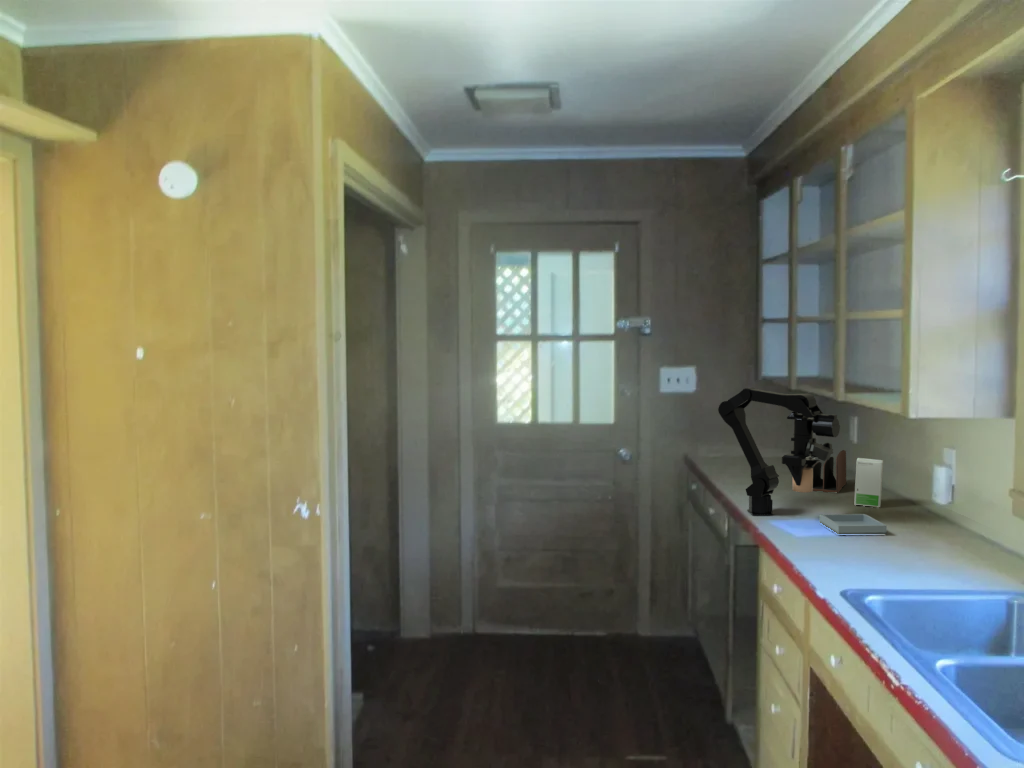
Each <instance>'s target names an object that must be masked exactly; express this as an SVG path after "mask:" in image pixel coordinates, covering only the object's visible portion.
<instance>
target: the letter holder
mask: <svg viewBox="0 0 1024 768" xmlns="http://www.w3.org/2000/svg"><path fill="white" fill-rule="evenodd" d="M846 452H847V450H844V449H843V450H840V451H839V452H838V454H837V456H836V458H834V456H830V458H829V460H828V459H827V460H826V461H824V463H823V468H822V462H821V461H819V462H817V463H816V464H815V465H814V466H813V491H812V492H817V491H823V492H822V493H828V492H837V493H836V494H839V493H838V492H840V491H841V490H842V489H843V488H844V487H845V486H846V485H847V453H846ZM834 459H835V463H834ZM834 464H835V466H834ZM834 467H835V475H836V476H835V475H834ZM822 470H823V471H822ZM822 476H823V477H822ZM821 477H822V478H821ZM844 485H845V486H844ZM843 486H844V487H843ZM842 487H843V488H842Z"/></svg>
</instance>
